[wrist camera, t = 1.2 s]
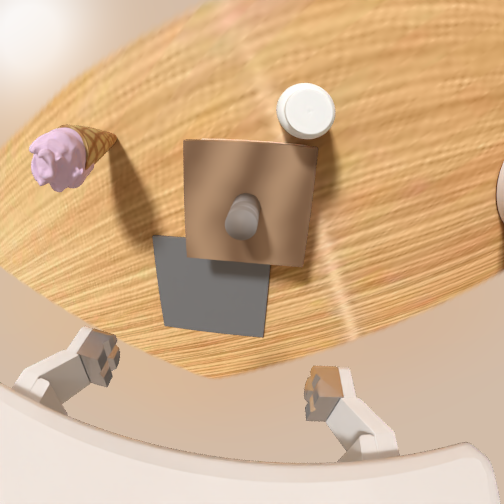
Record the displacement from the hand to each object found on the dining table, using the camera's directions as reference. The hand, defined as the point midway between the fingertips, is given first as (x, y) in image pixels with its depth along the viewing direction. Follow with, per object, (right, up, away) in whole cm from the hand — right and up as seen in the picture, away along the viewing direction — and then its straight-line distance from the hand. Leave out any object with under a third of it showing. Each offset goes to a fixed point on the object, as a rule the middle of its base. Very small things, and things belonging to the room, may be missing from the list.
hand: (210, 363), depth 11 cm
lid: (+1, +9, +20) cm, 22 cm away
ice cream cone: (-16, +19, +22) cm, 33 cm away
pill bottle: (+7, +20, +19) cm, 29 cm away
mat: (-4, -1, +31) cm, 32 cm away
